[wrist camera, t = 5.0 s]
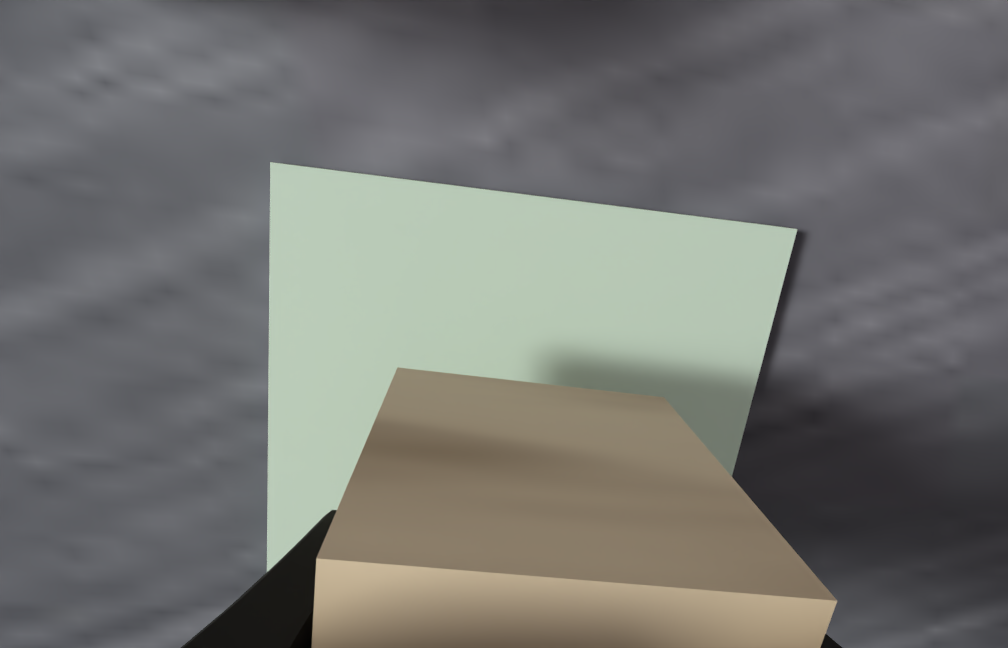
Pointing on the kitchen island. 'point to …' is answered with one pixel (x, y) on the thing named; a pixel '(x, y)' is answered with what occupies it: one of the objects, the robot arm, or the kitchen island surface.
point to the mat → (495, 312)
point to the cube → (551, 530)
